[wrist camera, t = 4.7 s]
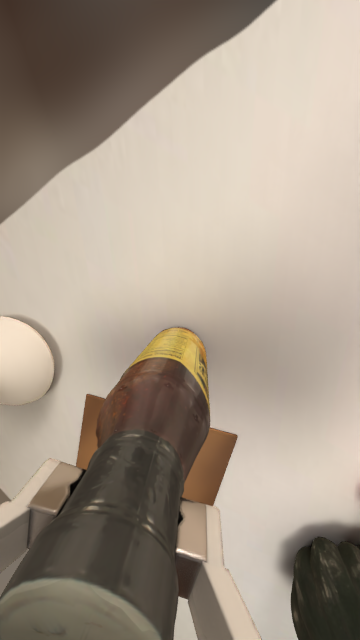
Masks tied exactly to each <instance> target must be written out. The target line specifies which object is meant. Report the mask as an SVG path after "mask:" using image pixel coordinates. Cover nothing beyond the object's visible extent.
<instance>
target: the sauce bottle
mask: <svg viewBox="0 0 360 640" xmlns="http://www.w3.org/2000/svg"><path fill="white" fill-rule="evenodd" d="M209 428H210V404H209V392H208V375H207V361H206V351H205V348H204V346H203V343H202V341H200V339H199V338H198V337H197V336H196V335H195V334H194V333H193V332H191V331H190V330H188V329H186V328H179V327H178V328H171V329H166V330H163V331H162V332H161V333H159V334H158V335H157V336H156V337H155V338H154V339H153V340H152V341H151V342H150V344H149V345H148V346H147V347H146V348H145V349H144V351H143V352H142V353H141V354H140V355H139V356H138V357H137V359H136V360H135V361H134V362H133V363H132V364H131V366H130V367H129V368H128V369H127V370H126V371H125V373H124V374H123V375H122V377H121V379H120V381H119V382H118V384H117V385H116V386H115V387H114V388H113V389H112V390H111V392H110V393H109V394H108V396H107V397H106V399H105V401H104V403H103V406H102V408H101V410H100V412H99V416H98V419H97V428H96V437H97V439H98V442H97V447H98V449H97V450H96V451H95V452H94V454H93V455H92V457H91V459H90V461H89V464H88V468H87V471H86V472H85V474H84V476H83V477H82V479H81V481H80V482H79V484H78V485H77V487H76V489H75V490H74V492H73V494H72V495H71V497H70V499H69V500H68V502H67V503H66V504H65V506H64V508H63V510H62V512H61V513H60V515H59V516H58V517H56V518H55V519H53V520H52V522H51V523H50V524H49V525H48V526H46V527H45V528H44V529H43V530H42V531H41V532H40V533H39V534H38V536H37V537H36V539H35V541H34V543H33V544H32V546H31V548H30V549H29V551H28V552H27V554H26V556H25V557H24V558H23V560H22V561H21V563H20V565H19V566H18V568H17V570H16V571H15V573H14V574H13V576H12V578H11V580H10V581H9V583H8V584H7V586H6V588H5V589H4V591H3V593H2V595H1V597H0V640H173V637H174V625H175V619H176V613H177V604H178V592H179V588H178V578H177V572H176V568H175V559H174V558H175V546H176V535H177V529H178V518H179V505H180V497H182V495H183V492H184V483H185V481H186V479H187V476H188V474H189V472H190V470H191V468H192V466H193V463H194V461H195V459H196V457H197V455H198V453H199V451H200V450H201V448H202V446H203V444H204V442H205V440H206V438H207V435H208V432H209Z"/></svg>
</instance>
